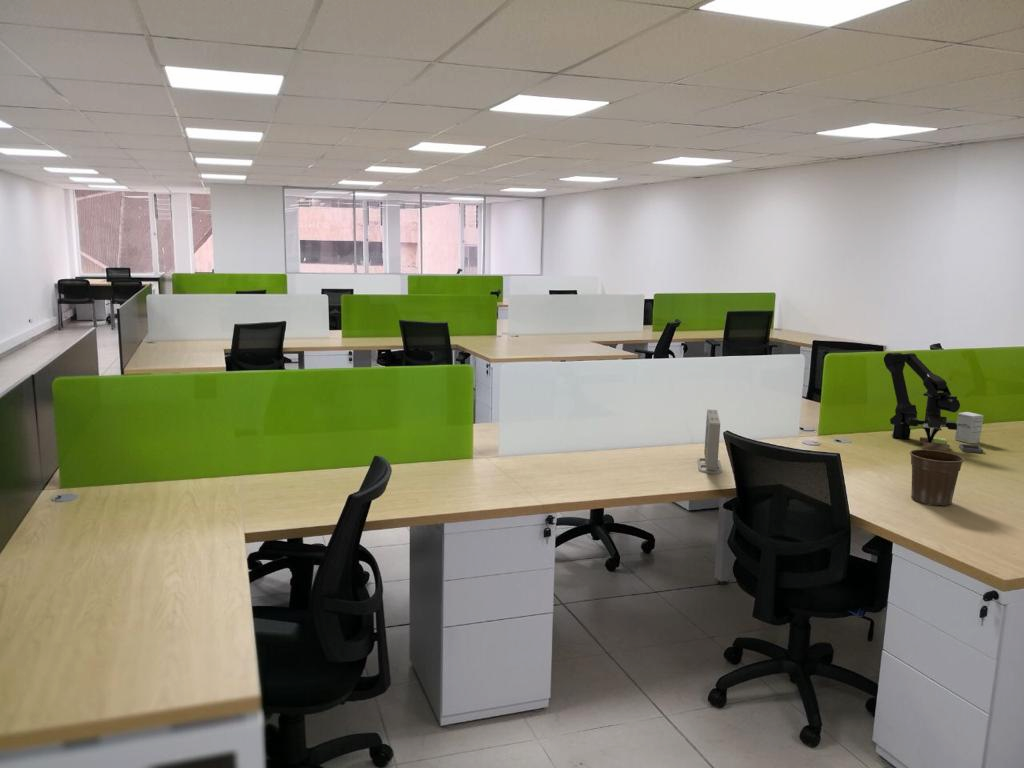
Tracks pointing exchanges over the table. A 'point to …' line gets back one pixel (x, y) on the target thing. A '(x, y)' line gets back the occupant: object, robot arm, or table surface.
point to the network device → (711, 444)
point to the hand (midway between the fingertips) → (929, 442)
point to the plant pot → (934, 476)
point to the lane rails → (933, 445)
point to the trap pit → (970, 448)
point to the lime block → (939, 441)
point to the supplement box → (969, 427)
